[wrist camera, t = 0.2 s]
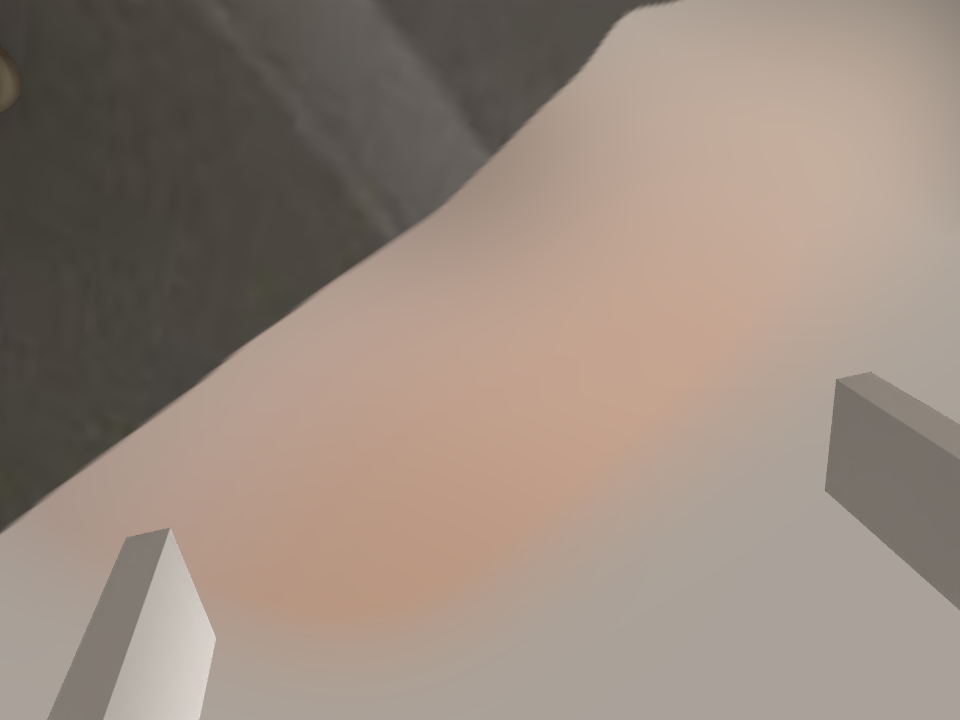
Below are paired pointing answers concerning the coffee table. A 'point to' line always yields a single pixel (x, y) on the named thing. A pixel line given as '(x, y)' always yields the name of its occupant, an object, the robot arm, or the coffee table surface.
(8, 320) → the coffee table surface
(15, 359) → the coffee table surface
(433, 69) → the coffee table surface
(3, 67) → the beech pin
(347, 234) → the coffee table surface
